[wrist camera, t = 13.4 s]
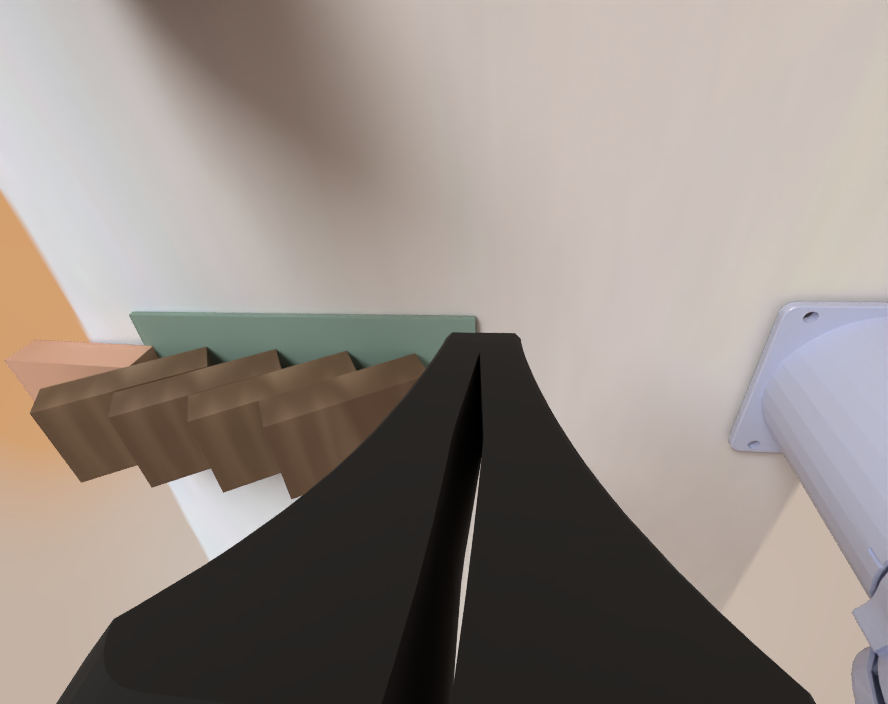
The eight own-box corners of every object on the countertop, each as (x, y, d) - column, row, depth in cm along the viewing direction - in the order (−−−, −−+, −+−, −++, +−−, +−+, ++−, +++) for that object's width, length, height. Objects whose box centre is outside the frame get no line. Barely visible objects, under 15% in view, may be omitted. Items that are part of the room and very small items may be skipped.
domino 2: (281, 368, 22) (108, 417, 20) (303, 437, 24) (151, 487, 22) (275, 348, 23) (113, 392, 21) (297, 416, 26) (154, 460, 24)
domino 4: (429, 374, 21) (263, 427, 19) (436, 445, 23) (291, 499, 21) (414, 353, 22) (258, 400, 20) (423, 422, 25) (285, 470, 23)
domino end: (127, 368, 23) (4, 360, 24) (164, 434, 25) (51, 424, 26) (152, 346, 24) (34, 339, 25) (185, 411, 27) (76, 402, 28)
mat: (475, 316, 21) (475, 319, 21) (478, 444, 26) (478, 448, 25) (133, 311, 23) (128, 315, 23) (192, 430, 28) (189, 434, 28)
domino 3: (356, 371, 21) (187, 421, 19) (371, 441, 24) (223, 492, 22) (346, 350, 23) (187, 395, 21) (361, 419, 25) (221, 465, 23)
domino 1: (207, 366, 22) (29, 413, 20) (236, 434, 25) (81, 482, 23) (206, 346, 24) (40, 388, 22) (233, 412, 26) (87, 456, 24)
